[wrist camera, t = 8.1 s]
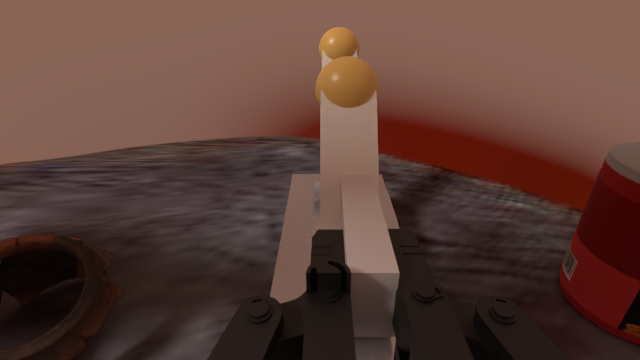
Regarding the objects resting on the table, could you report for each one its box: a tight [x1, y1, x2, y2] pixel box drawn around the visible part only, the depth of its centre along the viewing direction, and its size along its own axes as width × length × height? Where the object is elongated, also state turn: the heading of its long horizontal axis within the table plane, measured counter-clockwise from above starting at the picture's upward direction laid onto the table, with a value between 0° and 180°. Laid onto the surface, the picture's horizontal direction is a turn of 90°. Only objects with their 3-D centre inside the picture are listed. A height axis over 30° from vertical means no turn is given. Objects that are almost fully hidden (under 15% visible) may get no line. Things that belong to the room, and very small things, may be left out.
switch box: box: [270, 174, 400, 360], centre depth 27 cm, size 10×32×4 cm, turn 179°
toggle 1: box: [314, 27, 359, 197], centre depth 30 cm, size 4×4×15 cm
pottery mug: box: [0, 234, 125, 360], centre depth 21 cm, size 12×10×8 cm
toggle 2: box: [316, 56, 395, 337], centre depth 18 cm, size 4×4×15 cm
